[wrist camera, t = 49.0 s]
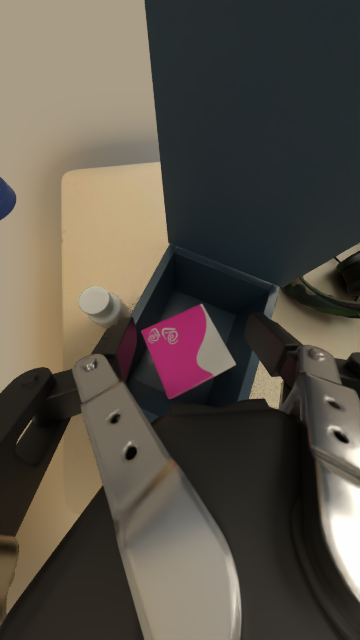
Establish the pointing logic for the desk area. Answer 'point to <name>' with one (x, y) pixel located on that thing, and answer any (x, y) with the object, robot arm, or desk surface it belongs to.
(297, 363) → the robot arm
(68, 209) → the desk surface
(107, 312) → the pill bottle
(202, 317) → the supplement box
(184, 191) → the lid
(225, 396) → the dark blue open box
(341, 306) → the headphones
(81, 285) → the desk surface
